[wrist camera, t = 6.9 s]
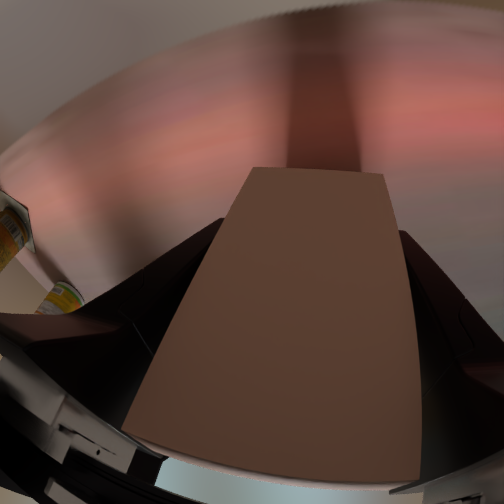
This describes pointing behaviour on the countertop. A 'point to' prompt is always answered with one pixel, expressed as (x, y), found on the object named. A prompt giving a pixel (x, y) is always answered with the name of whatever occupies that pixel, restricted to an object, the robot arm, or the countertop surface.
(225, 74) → the countertop surface
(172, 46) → the countertop surface
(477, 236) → the countertop surface
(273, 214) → the domino
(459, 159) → the countertop surface
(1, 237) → the condiment
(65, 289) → the supplement bottle
